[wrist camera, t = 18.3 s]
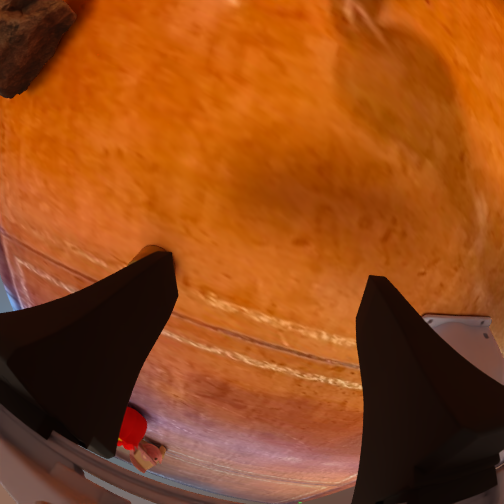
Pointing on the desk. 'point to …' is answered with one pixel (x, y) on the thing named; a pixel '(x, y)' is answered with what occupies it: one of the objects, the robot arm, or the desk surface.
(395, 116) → the desk surface
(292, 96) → the desk surface
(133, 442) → the flower
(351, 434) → the desk surface
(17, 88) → the decorative rock
